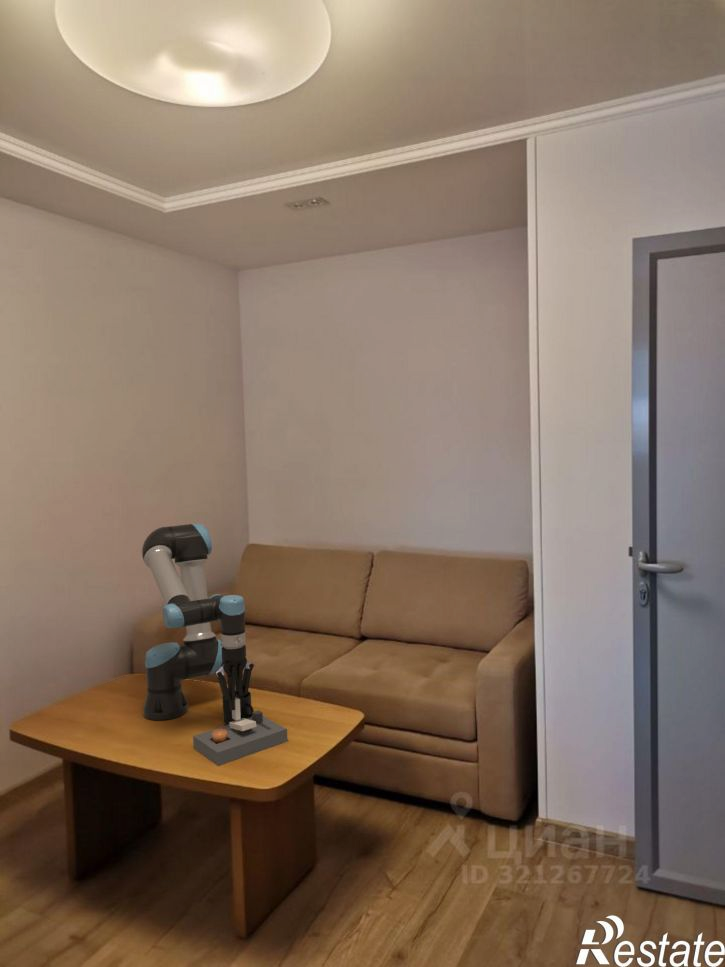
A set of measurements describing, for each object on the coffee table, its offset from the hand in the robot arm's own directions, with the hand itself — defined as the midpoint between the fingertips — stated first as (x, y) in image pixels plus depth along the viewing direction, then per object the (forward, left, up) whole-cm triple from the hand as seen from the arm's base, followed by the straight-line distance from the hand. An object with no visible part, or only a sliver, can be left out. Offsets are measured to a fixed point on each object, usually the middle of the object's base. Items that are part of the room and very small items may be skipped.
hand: (236, 718), depth 230 cm
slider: (+1, +7, -3) cm, 8 cm away
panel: (+4, -1, -7) cm, 8 cm away
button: (+4, -8, -7) cm, 11 cm away
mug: (-12, +8, -7) cm, 16 cm away
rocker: (+4, 0, -1) cm, 4 cm away
